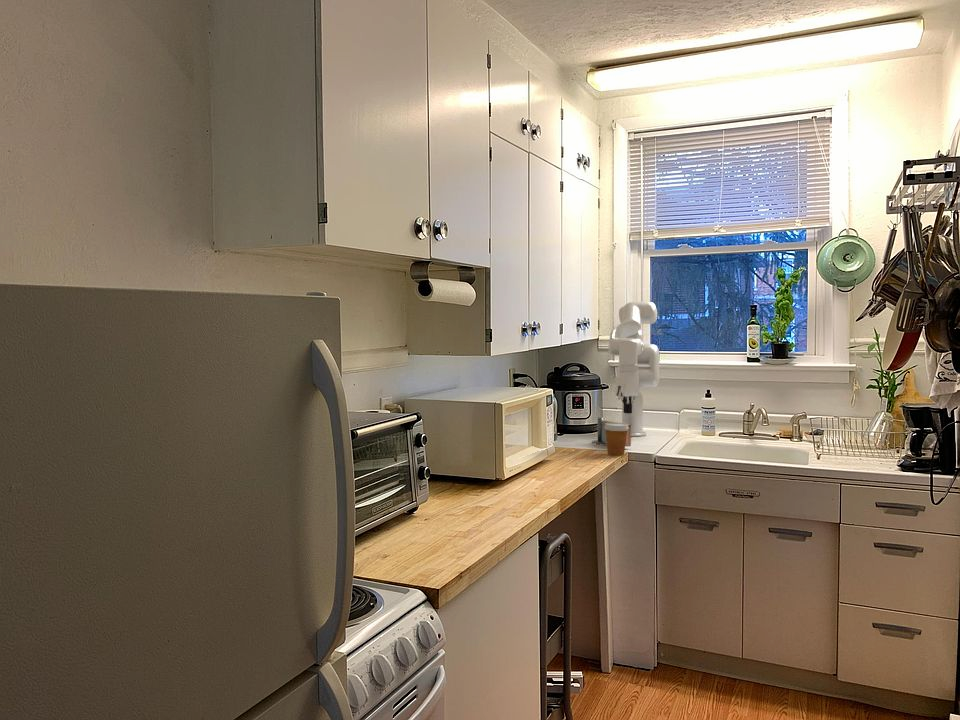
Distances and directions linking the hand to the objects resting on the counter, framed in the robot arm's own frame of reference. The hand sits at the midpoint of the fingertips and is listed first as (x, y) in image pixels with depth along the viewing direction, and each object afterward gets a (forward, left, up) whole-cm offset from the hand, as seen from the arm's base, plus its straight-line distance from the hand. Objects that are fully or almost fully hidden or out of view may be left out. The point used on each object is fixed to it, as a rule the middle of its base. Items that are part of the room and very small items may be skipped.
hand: (627, 413), depth 306 cm
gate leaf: (-5, -2, -13) cm, 14 cm away
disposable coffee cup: (+10, -15, -15) cm, 23 cm away
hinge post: (-15, -2, -15) cm, 21 cm away
